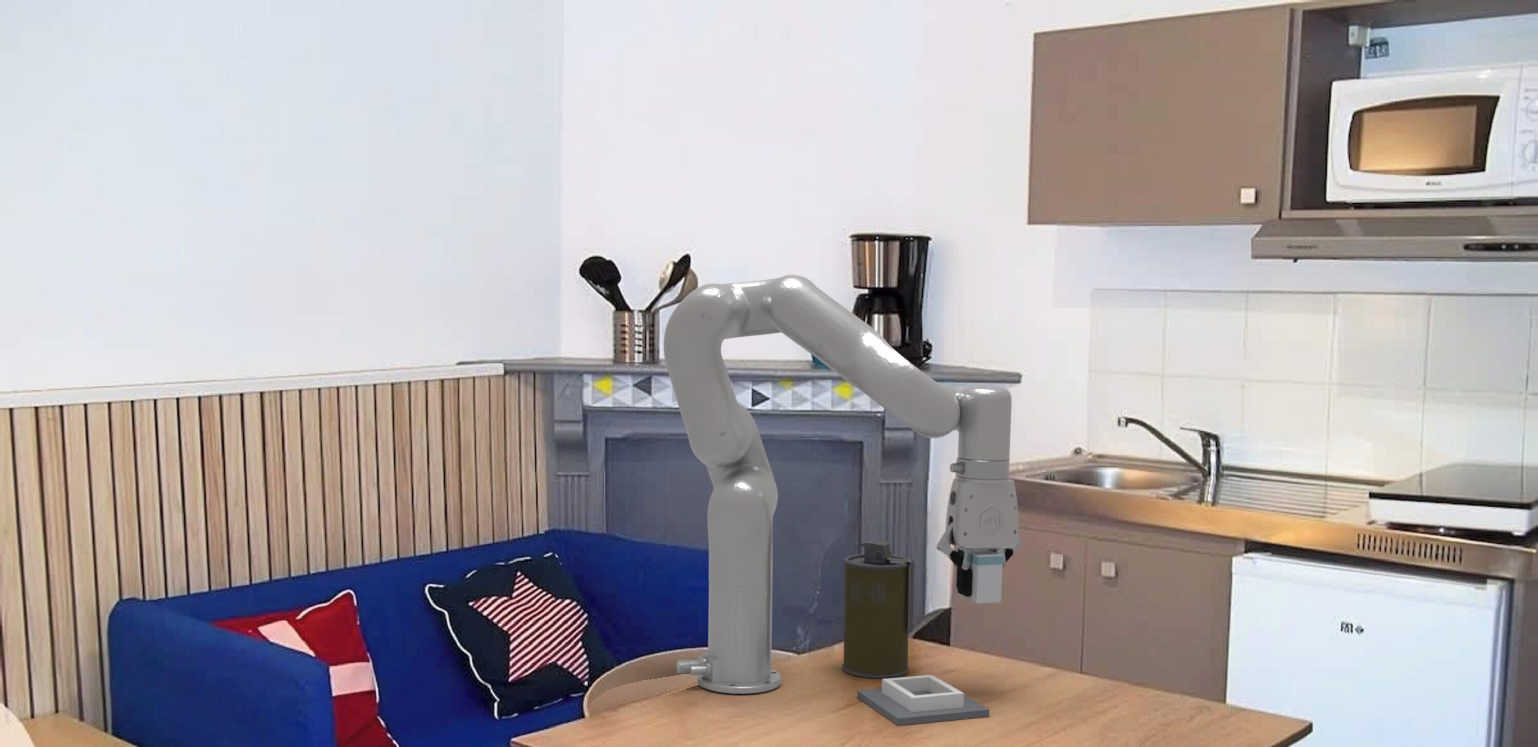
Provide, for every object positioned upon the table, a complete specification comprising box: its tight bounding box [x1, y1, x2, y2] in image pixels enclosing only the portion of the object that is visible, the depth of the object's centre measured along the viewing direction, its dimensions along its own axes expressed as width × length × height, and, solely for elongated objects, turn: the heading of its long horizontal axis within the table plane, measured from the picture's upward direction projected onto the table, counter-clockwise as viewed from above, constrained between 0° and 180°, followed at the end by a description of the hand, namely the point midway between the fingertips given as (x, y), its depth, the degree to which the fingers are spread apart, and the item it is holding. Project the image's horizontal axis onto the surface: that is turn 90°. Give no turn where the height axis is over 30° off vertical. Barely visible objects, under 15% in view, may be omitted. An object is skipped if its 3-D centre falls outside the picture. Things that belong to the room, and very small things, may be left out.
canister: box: [841, 540, 915, 680], centre depth 221 cm, size 11×10×20 cm
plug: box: [956, 549, 1003, 604], centre depth 209 cm, size 4×6×7 cm
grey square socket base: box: [856, 674, 990, 726], centre depth 202 cm, size 14×14×3 cm
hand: (978, 592), depth 209 cm, fingers closed on plug, 4 cm apart
